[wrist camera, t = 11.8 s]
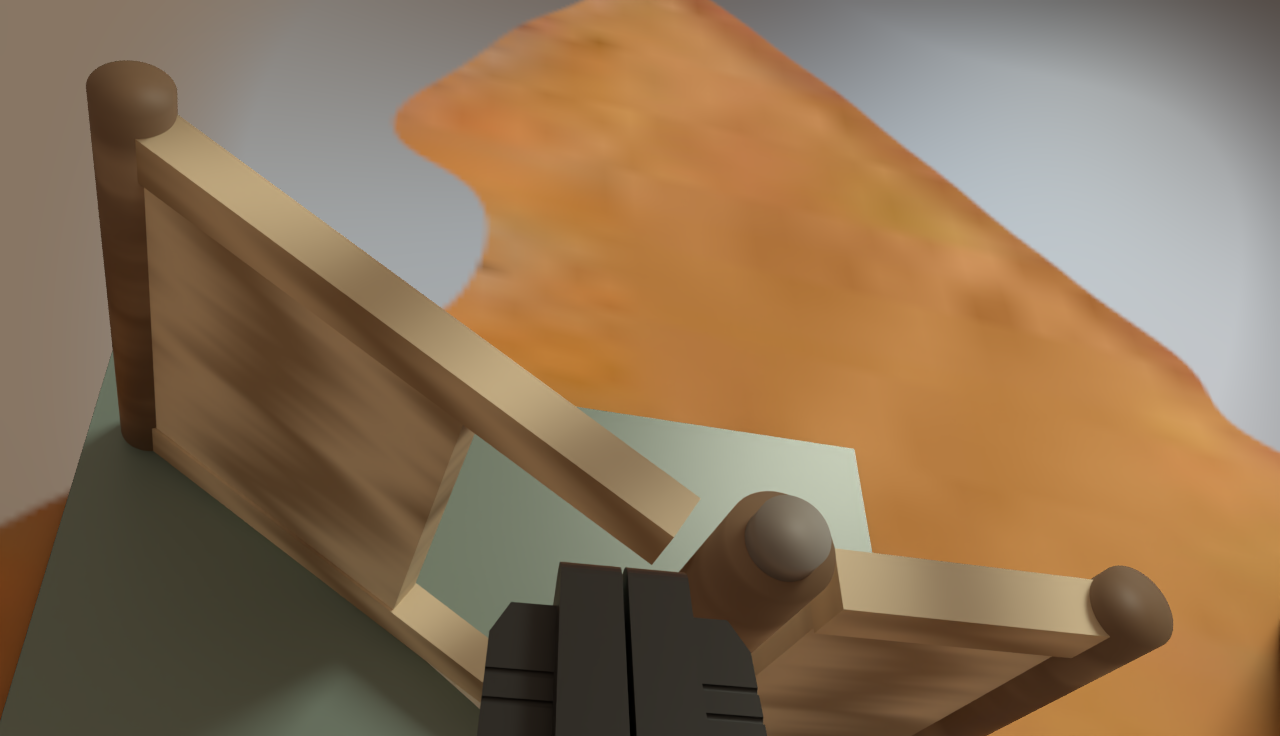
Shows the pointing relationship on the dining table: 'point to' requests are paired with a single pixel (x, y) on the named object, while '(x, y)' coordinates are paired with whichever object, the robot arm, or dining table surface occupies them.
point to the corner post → (761, 565)
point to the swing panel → (321, 376)
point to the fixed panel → (948, 646)
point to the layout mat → (316, 614)
